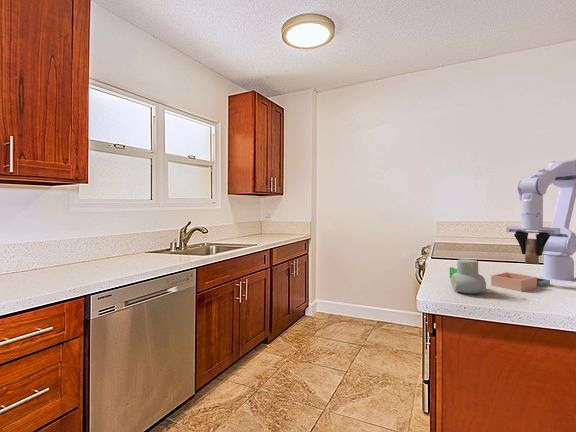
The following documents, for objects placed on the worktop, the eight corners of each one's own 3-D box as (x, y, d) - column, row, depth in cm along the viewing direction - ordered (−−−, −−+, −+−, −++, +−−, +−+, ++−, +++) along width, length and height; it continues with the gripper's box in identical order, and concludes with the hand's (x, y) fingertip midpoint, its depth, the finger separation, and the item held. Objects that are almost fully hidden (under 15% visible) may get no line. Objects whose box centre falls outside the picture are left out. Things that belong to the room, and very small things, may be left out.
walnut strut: (527, 261, 110) (527, 238, 110) (540, 263, 107) (540, 239, 107) (523, 263, 108) (523, 239, 108) (536, 264, 105) (536, 240, 105)
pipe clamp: (473, 287, 109) (473, 273, 109) (462, 286, 110) (462, 273, 109) (460, 279, 120) (460, 266, 120) (449, 279, 121) (449, 266, 120)
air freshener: (449, 287, 109) (449, 257, 108) (476, 288, 107) (476, 258, 106) (457, 295, 98) (457, 263, 98) (488, 297, 96) (488, 264, 96)
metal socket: (528, 282, 112) (528, 276, 112) (549, 286, 107) (550, 280, 107) (517, 284, 109) (517, 278, 109) (539, 288, 104) (539, 282, 104)
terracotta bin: (506, 283, 111) (506, 272, 111) (536, 289, 103) (536, 277, 103) (491, 287, 107) (491, 275, 107) (520, 293, 99) (520, 280, 99)
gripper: (502, 214, 111) (502, 253, 111) (554, 214, 99) (554, 258, 99) (511, 213, 115) (511, 251, 115) (562, 213, 103) (562, 256, 103)
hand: (531, 254), depth 107 cm, fingers closed on walnut strut, 4 cm apart
